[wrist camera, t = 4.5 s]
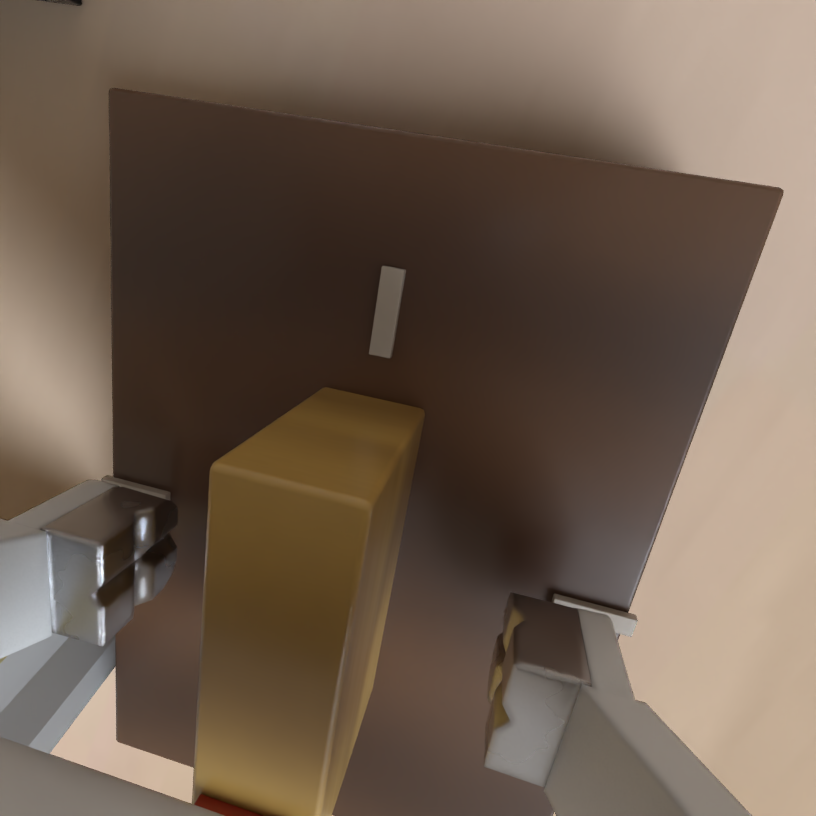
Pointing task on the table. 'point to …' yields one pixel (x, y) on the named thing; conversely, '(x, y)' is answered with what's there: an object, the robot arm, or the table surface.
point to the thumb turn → (298, 600)
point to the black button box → (65, 2)
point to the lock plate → (413, 387)
